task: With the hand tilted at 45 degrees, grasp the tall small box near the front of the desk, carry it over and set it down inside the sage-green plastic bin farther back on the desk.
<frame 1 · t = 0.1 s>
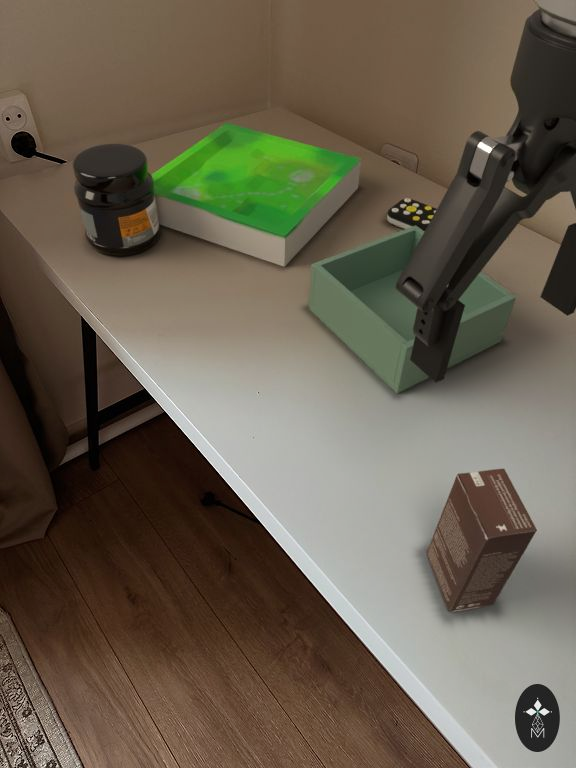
hand: (495, 335, 47), 21 cm above the table, tool pointing down, fingers open, 13 cm apart
bin: (402, 325, 80), on the table
supplement container: (124, 239, 92), on the table
remote control: (429, 229, 96), on the table
box: (459, 578, 57), on the table
green flat square slab: (252, 203, 100), on the table
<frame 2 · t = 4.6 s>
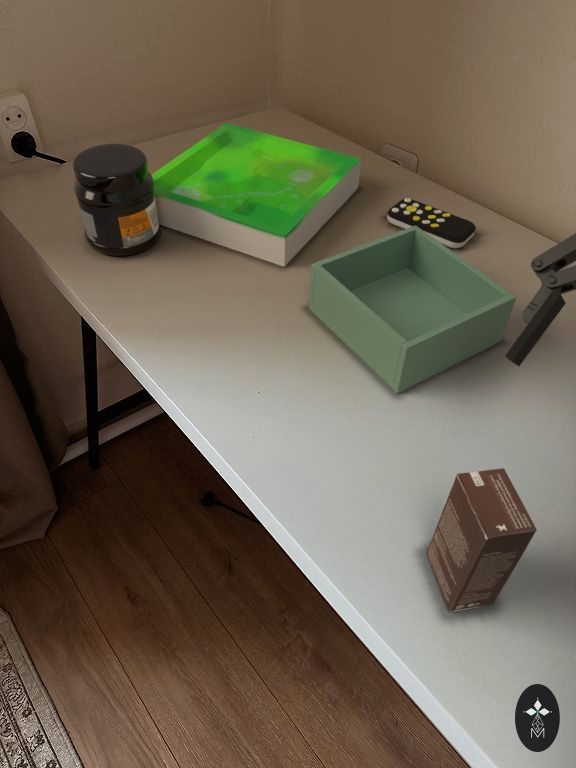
nothing on the table moved.
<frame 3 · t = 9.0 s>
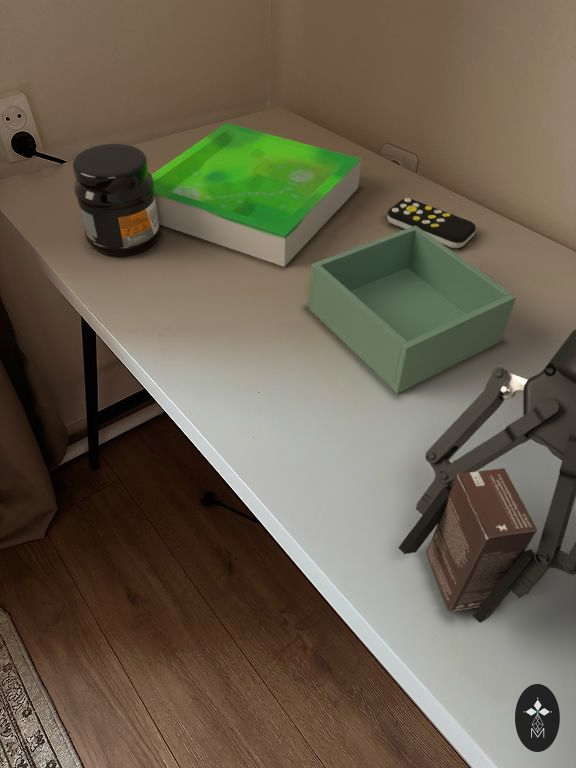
hand: (442, 581, 52), 4 cm above the table, tool tilted 45°, fingers closed on box, 7 cm apart
box: (459, 578, 57), on the table, touching gripper
everything else where it was.
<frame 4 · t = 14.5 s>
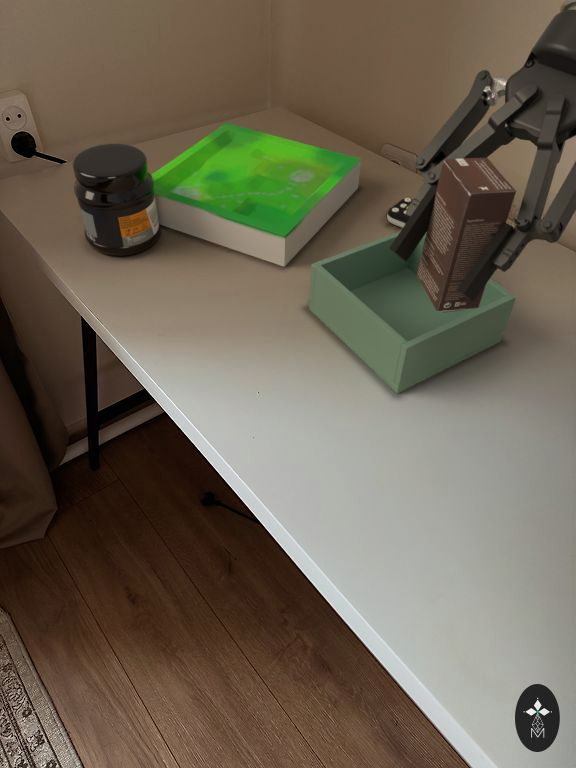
hand: (430, 274, 56), 19 cm above the table, tool tilted 45°, fingers closed on box, 7 cm apart
box: (447, 293, 61), point 15 cm above the table, touching gripper
everything else where it was.
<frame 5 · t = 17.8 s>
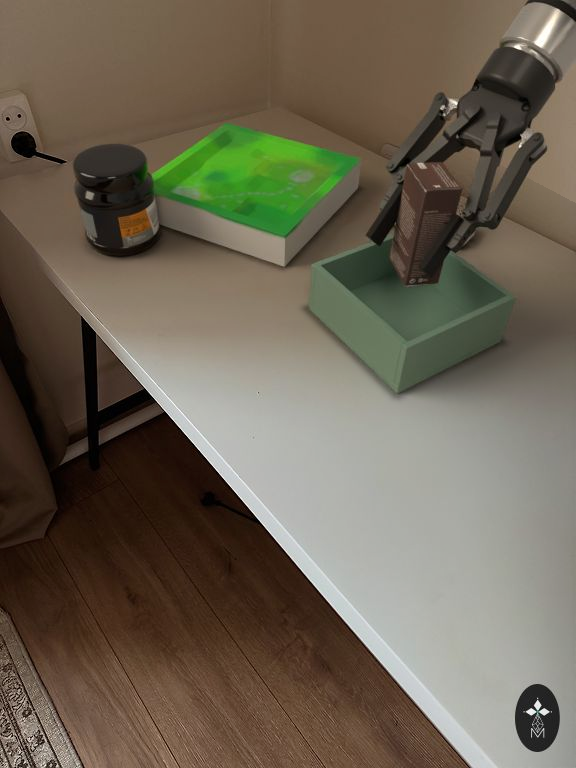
hand: (398, 255, 70), 12 cm above the table, tool tilted 45°, fingers closed on box, 7 cm apart
box: (413, 272, 74), point 8 cm above the table, touching gripper
everything else where it was.
when the fingers open (5 cm above the table, at t = 20.3 s): box stays where it is, resting on bin.
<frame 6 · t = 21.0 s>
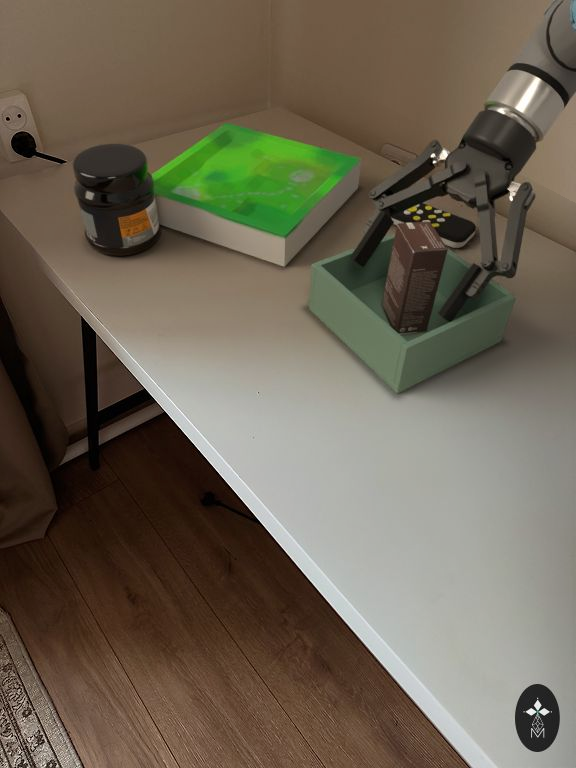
hand: (398, 289, 74), 7 cm above the table, tool tilted 45°, fingers open, 13 cm apart
box: (404, 319, 79), point 1 cm above the table, touching bin
everything else where it was.
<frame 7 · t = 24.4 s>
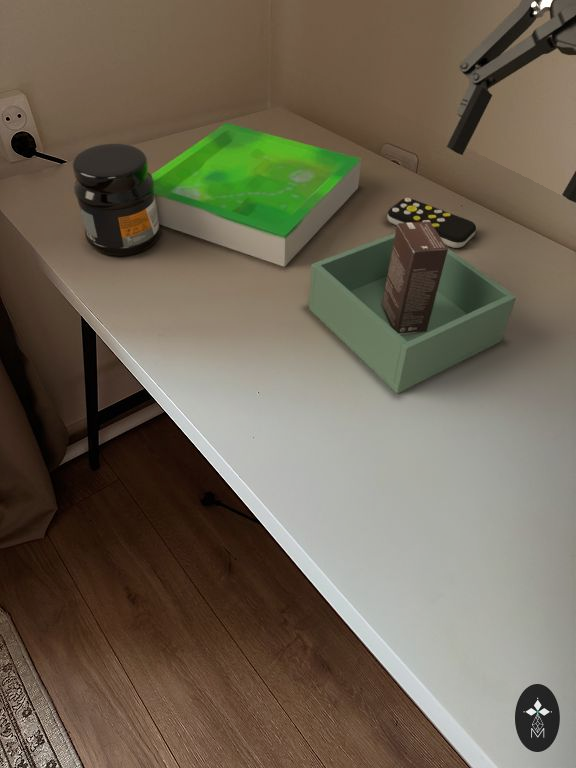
hand: (508, 174, 65), 21 cm above the table, tool tilted 30°, fingers open, 13 cm apart
nothing on the table moved.
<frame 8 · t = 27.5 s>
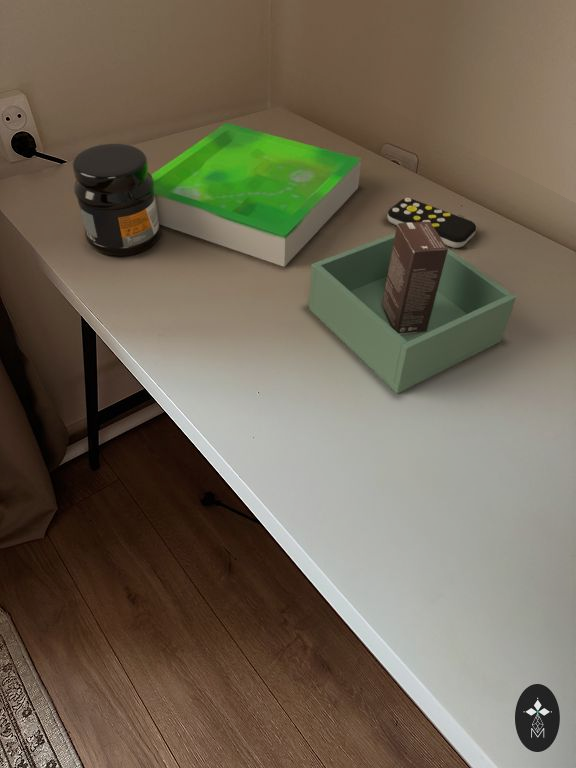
nothing on the table moved.
at the end: box inside the target area in the bin (0.1 cm from its centre), point 0.8 cm above the bin's base; the gripper is holding nothing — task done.
